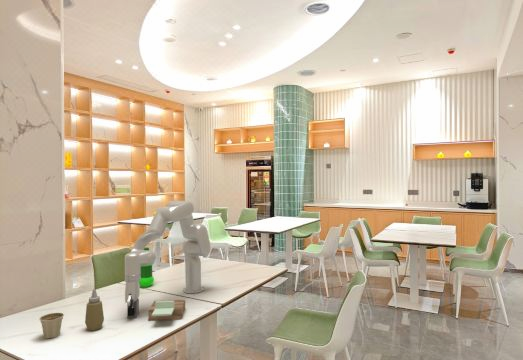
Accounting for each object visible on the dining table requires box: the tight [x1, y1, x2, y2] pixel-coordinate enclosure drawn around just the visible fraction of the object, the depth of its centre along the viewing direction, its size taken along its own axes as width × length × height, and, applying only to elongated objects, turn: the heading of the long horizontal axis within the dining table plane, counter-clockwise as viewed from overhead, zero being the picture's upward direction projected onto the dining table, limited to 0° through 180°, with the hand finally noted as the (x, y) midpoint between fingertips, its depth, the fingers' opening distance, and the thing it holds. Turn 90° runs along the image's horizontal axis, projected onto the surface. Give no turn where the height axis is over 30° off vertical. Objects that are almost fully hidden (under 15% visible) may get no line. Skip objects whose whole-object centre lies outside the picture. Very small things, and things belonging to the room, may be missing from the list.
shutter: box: [152, 300, 174, 316], centre depth 169 cm, size 9×9×4 cm
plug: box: [126, 298, 140, 319], centre depth 178 cm, size 4×4×8 cm
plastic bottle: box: [139, 246, 155, 288], centre depth 230 cm, size 10×10×25 cm
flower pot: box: [39, 312, 65, 339], centre depth 156 cm, size 9×9×9 cm
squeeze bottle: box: [84, 288, 105, 331], centre depth 164 cm, size 8×8×18 cm
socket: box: [147, 299, 186, 322], centre depth 179 cm, size 14×16×5 cm
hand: (133, 312), depth 178 cm, fingers open, 7 cm apart
